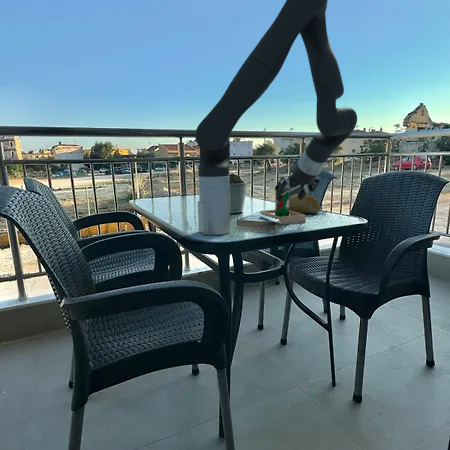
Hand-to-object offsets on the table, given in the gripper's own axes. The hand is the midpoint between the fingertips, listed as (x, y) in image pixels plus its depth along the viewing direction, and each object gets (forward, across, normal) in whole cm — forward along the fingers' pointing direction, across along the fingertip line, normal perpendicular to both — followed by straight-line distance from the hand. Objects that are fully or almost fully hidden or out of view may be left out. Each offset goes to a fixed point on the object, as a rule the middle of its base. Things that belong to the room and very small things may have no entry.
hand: (288, 198), depth 111 cm
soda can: (+8, 0, +2) cm, 9 cm away
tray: (+9, 0, +3) cm, 9 cm away
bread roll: (+15, -14, -3) cm, 20 cm away
